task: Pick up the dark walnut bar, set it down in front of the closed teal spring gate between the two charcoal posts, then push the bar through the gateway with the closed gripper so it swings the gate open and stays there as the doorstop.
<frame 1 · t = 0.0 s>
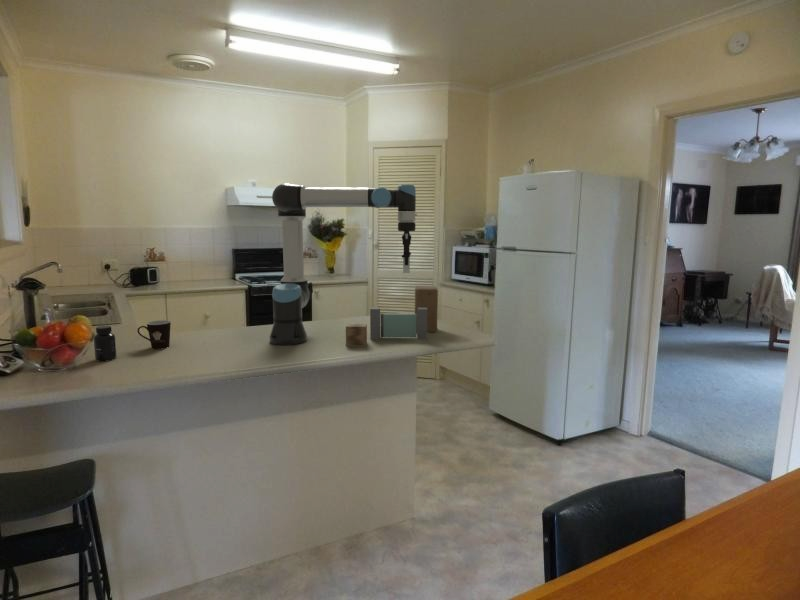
hand: (406, 271, 222), 28 cm above the table, tool pointing down, fingers open, 13 cm apart
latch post: (422, 338, 219), on the table
supplement bottle: (106, 359, 187), on the table
hinge post: (375, 338, 219), on the table
coffee mug: (157, 347, 204), on the table
gate: (398, 325, 218), point 6 cm above the table, hinge at 0.0°
doorstop bar: (356, 344, 209), on the table
wooden block: (425, 331, 234), on the table
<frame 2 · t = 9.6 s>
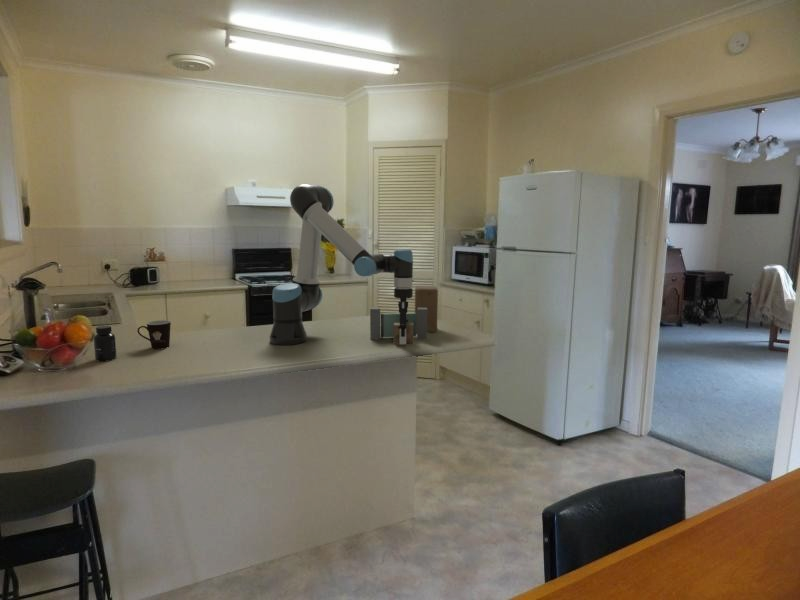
hand: (403, 340, 211), 1 cm above the table, tool pointing down, fingers open, 11 cm apart
gate: (398, 325, 219), point 5 cm above the table, hinge at 9.0°, touching hand
doorstop bar: (403, 342, 211), on the table
everything else where it was.
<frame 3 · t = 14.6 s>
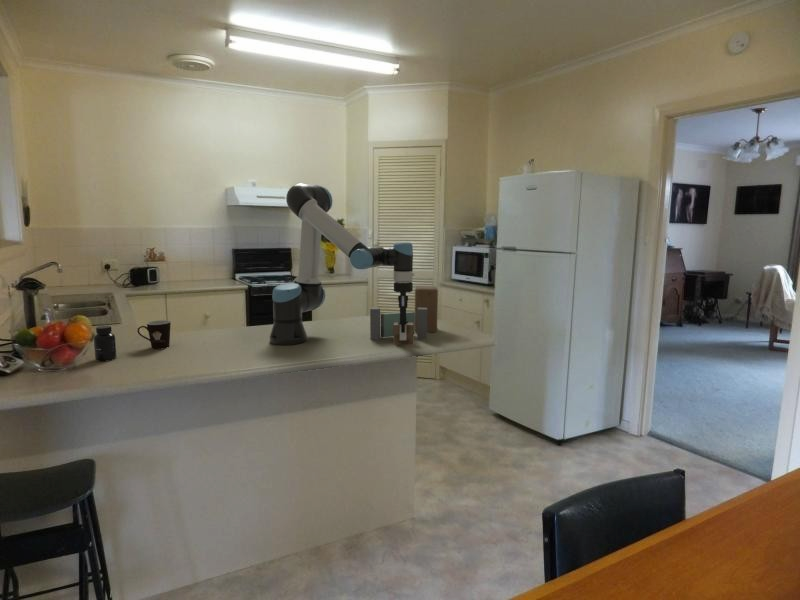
hand: (403, 339, 206), 2 cm above the table, tool pointing down, fingers closed
gate: (397, 324, 221), point 6 cm above the table, hinge at 20.0°
doorstop bar: (403, 342, 211), on the table, touching gripper
everything else where it was.
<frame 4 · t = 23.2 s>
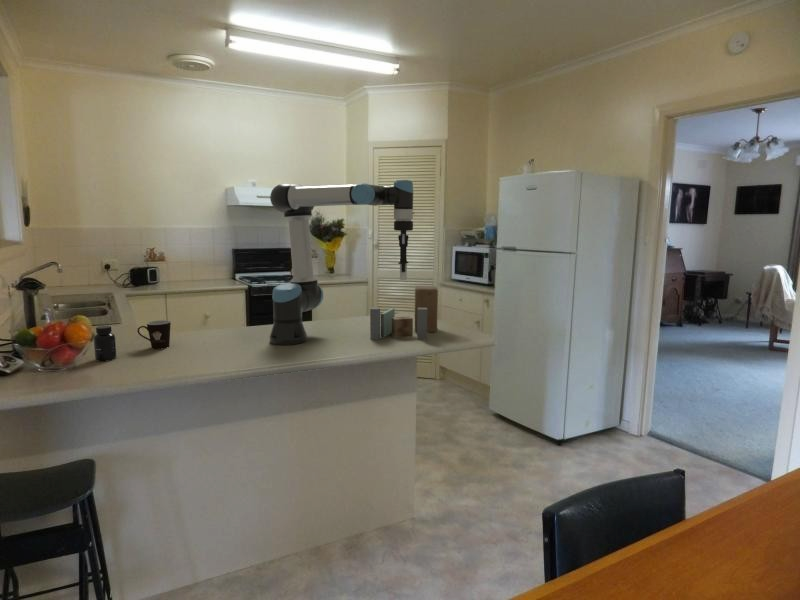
hand: (403, 279, 205), 26 cm above the table, tool pointing down, fingers closed
gate: (387, 322, 225), point 6 cm above the table, hinge at 73.1°
doorstop bar: (402, 335, 224), on the table
everything else where it was.
at the end: gate at +73° (first picture: +0°); doorstop bar inside the target area (1.7 cm from its centre), on the table; the gripper is holding nothing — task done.
